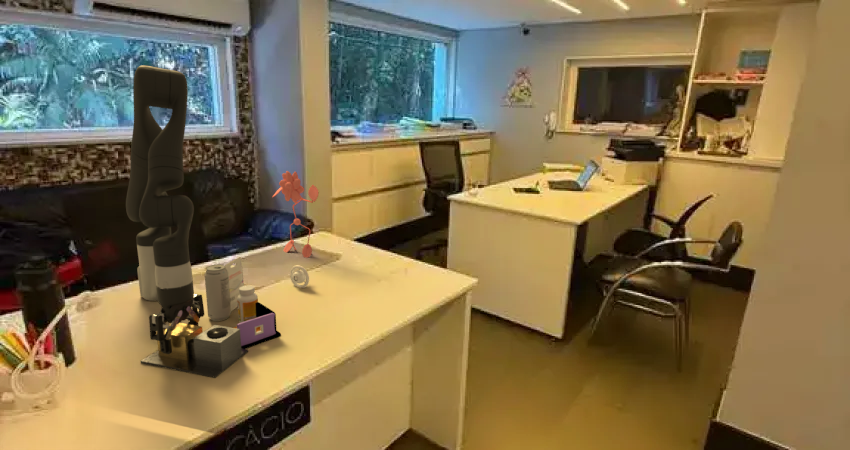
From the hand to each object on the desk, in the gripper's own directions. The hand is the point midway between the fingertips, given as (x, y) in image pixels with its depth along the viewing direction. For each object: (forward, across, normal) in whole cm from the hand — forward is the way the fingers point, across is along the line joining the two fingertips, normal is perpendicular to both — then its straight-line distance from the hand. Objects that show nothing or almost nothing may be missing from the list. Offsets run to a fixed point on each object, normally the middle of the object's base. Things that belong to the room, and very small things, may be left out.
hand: (180, 344), depth 110 cm
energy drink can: (+3, -20, -5) cm, 21 cm away
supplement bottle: (+3, -21, +4) cm, 22 cm away
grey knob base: (+3, 0, +4) cm, 5 cm away
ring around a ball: (+3, -48, +5) cm, 48 cm away
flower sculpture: (+3, -73, -13) cm, 74 cm away
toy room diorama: (+3, -14, +9) cm, 17 cm away
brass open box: (+2, 0, 0) cm, 2 cm away
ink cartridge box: (+3, -27, -7) cm, 28 cm away
